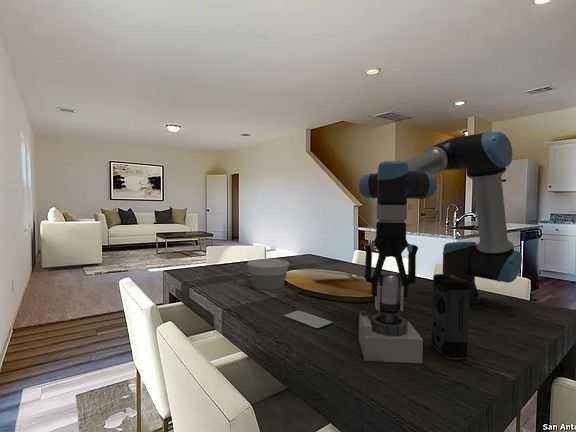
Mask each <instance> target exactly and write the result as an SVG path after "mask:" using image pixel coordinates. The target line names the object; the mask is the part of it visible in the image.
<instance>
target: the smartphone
mask: <svg viewBox="0 0 576 432" xmlns="http://www.w3.org/2000/svg"><path fill="white" fill-rule="evenodd" d="M285 317H286V319H288V318H289V319H288V320H290V319H291V321H292V322H295V321H296V322H295V323H298V324H300V323H301V325H302V324H303V325H302V326H305V327H307V326H308V328H310V327H311V328H310V329H312V328H313V329H312V330H315V329H316V330H315V331H320V330H323V329H324V327H325V328H327V327H330V326H332V325H333V321H331V320H328V319H326V318H323V317H320V316H318V315H317V316H316V315H314V314H311V313H308V312H305V311H302V310H294V311H292V312H289V313H286V314H283V318H285ZM329 325H330V326H329ZM319 329H320V330H319Z"/></svg>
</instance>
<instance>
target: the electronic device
mask: <svg viewBox="0 0 576 432" xmlns="http://www.w3.org/2000/svg"><path fill="white" fill-rule="evenodd" d="M432 285H433V286H432V310H431V311H432V312H431V313H432V314H431V319H432V320H431V338H430V339H431V341H430V342H431V343H430V345H431V346H432V347H433V348H434V349H435V350H436V351H437V352H438V353H440V355H442V356H443V358H445V359H447V360H449V359H450V360H451V361H455V360H456V361H458V360H461V361H462V359H463V360H466V359H468V347H469V346H468V344H469V343H468V342H469V320H470V319H469V318H470V304H469V298H470V282H469V281H467V280H465V279H462V278H460V277H457V276H455V275H452V274H443V273H437V274H434V275H433V283H432Z"/></svg>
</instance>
